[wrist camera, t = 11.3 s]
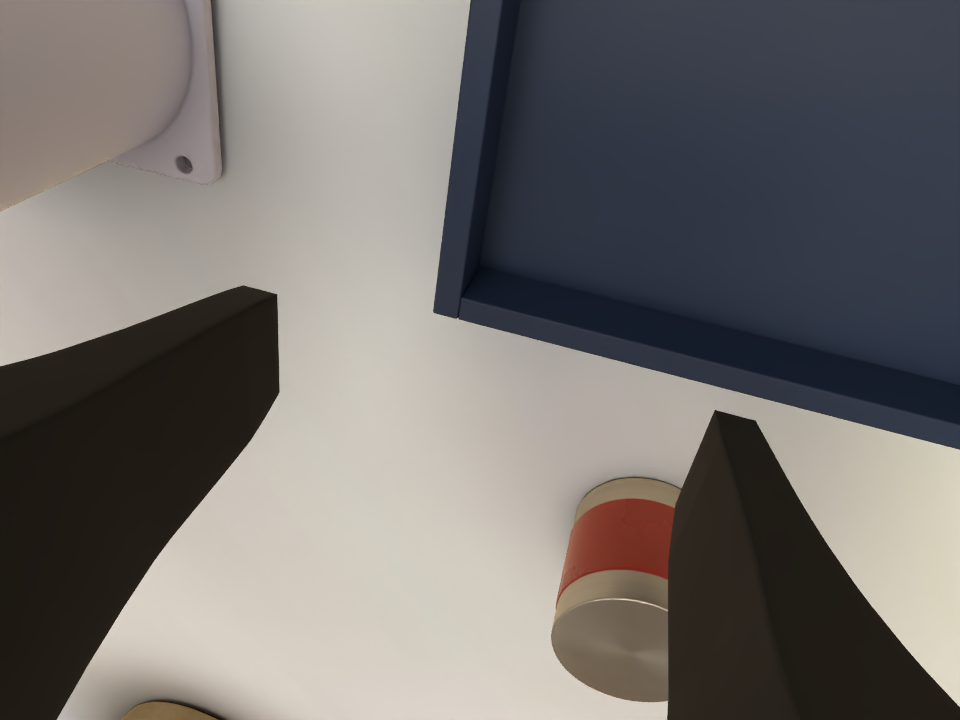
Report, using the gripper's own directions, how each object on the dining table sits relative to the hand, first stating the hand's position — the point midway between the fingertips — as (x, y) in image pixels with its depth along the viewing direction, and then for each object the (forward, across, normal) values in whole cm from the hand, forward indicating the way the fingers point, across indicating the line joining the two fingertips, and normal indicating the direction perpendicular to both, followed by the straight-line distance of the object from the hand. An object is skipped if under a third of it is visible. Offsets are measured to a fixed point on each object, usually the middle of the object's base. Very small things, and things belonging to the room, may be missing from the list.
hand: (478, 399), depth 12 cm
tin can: (+9, -5, +11) cm, 15 cm away
